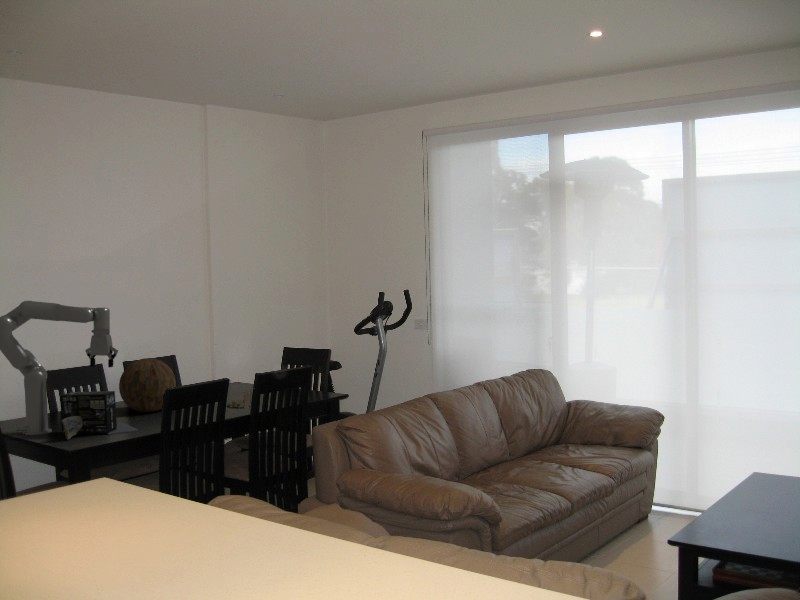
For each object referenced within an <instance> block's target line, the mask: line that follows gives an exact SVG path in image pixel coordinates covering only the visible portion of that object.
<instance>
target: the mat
mask: <svg viewBox="0 0 800 600" xmlns="http://www.w3.org/2000/svg"><path fill="white" fill-rule="evenodd" d="M139 431H140V430H139V428H136V427H133V426H132V425H129V424H127V423H125V422H121V423H117V429H115V430H113V431H111V432H109V433H105V434H107V435H109V436H111V435H120V434H125V433H135V432H139Z"/></svg>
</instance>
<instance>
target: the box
mask: <svg viewBox="0 0 800 600" xmlns="http://www.w3.org/2000/svg"><path fill="white" fill-rule="evenodd" d="M59 400H60V414H61V415H60V416H61V417H60V418H61V420H60V421H62V420H63V419H65V418H67V417H71V416H81V418H82V420H83V421H82V428H81V429H80V430H79V431H78V432H77V433H76V435H79V434H80V435H81V434H106V433H109V432H111V431H113V430H115V429H117V424H118V423H117V409H116V408H117V405H116V391H115V390H108V391H107V390H103V391H102V390H100V391H70V392H67V393H64V394H60V395H59ZM61 432H62V435H65V431H64V426H63V423H62V422H61Z"/></svg>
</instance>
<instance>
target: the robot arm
mask: <svg viewBox="0 0 800 600" xmlns="http://www.w3.org/2000/svg"><path fill="white" fill-rule="evenodd" d="M110 316H111V313H110V308H108V307H87V306H71V305H64V304H60V303H56V302H43V301H34V300H24V301H22V302H21V303H19V305H18V306H16V307H15V308H13V309H12V310H10V311H9V312H8V313H6V314H4V315H1V316H0V352H1V353H2V355H4V357H5V359H6V360H8V362H9V363H10V365H11V367H12V368H14V369H16V370H18V371H19V372H20V373H21V375H23V387H24V403H25V423H24V425H22V426H15V428H14V429H15V432H22V434H23V435H24V434H25V435H24V436H39V435H46V434H49V433H52V431H53V430H52V428H49V423H48V421H49V420H48V417H49V416H48V414H49V413H48V397H47V395H48V394H47V393H48V392H47V391H48V390H47V379H48V372H47V370H46V369H45V367H44V366H43V365H42V363H41V362H40V361H39V360H38V359H37V357H36V356H34V354H33V353H32V352H31V351H30V350H28V349H26V348H24V347H23V345H21V343H20V342H19V341H18V340H17V339H16V337H14V335H13V331H15V330H16V329H18V328H19V327H21V326H23V325H24V324H26V323H28V321H30V320H43V321H53V322H68V323H70V322H71V323H81V324H87V323H90V322H93V329H92V330H91V333H92V335H91V338H90V345H89V347H88V348H86V349H85V353H86V356H87V357H88V358H89V364H90V368H94V367H96V358H95V357H97V356H98V357H99V356H102V357H103V356H106V357H108V360H107V365H108V366H107V367H108V368H113V367H114V360H115V358H116V357H117V355H118V353H119V349H116V348H115V347H114V346H113V339H112V335H111V334H110V332H111V329H110V328H111V327H110V325H111V323H110V319H111V317H110Z"/></svg>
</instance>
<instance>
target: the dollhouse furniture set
mask: <svg viewBox="0 0 800 600" xmlns="http://www.w3.org/2000/svg"><path fill="white" fill-rule="evenodd" d="M253 389H254V388H250V390H249V391H250V393H249V392H244V393H243V400H242V401H240V402H238V401H236V400H233V401H231V403H228V404H226V407H227V406H233V407H232V408H234V407H238V408H239V407H241V406H240V405H242V406H243V408H244V407H249V408H251V407H250V405H251V404H250V401H249V400H250V399H251V398H252V392H253ZM249 394H250V397H249ZM249 398H250V399H249ZM243 404H244V405H243Z"/></svg>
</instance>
